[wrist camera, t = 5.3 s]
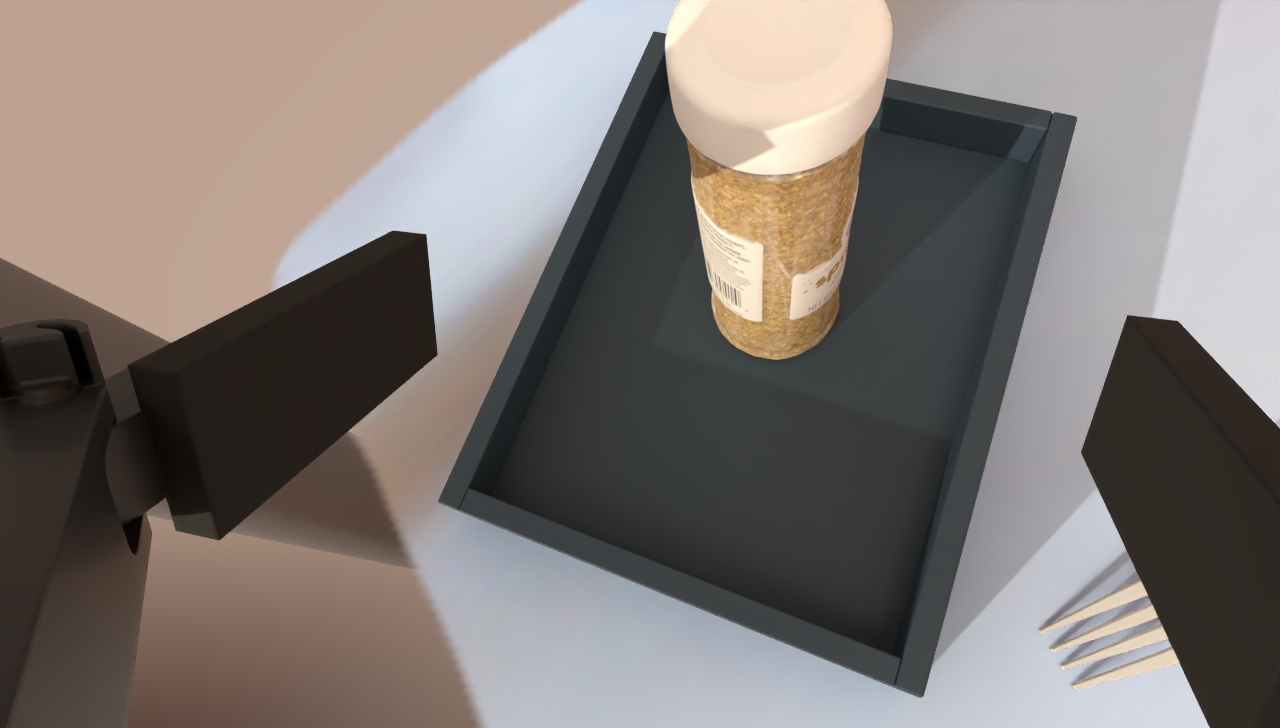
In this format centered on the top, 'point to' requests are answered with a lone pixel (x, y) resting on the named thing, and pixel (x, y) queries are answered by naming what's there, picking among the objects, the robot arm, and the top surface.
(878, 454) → the tray
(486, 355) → the top surface
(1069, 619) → the fork
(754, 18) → the sprinkles bottle
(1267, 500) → the robot arm
